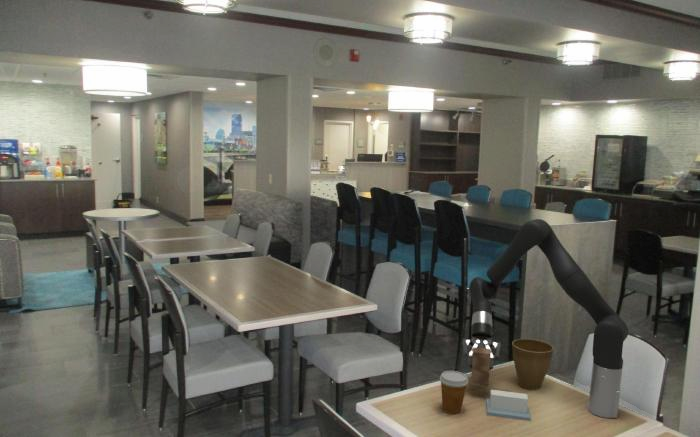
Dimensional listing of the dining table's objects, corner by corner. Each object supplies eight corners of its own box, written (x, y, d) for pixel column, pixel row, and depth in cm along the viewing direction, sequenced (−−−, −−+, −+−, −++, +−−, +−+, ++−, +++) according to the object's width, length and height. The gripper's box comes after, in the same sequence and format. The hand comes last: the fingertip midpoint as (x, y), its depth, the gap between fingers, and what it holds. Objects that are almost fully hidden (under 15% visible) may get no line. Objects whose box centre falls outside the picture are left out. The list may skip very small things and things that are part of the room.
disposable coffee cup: (467, 405, 192) (470, 373, 190) (464, 418, 183) (466, 383, 181) (440, 400, 195) (442, 368, 193) (435, 412, 186) (437, 378, 184)
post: (487, 379, 203) (489, 348, 201) (488, 386, 197) (490, 353, 195) (471, 377, 204) (473, 346, 202) (471, 384, 198) (473, 352, 196)
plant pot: (556, 386, 211) (560, 346, 209) (537, 397, 201) (541, 355, 199) (521, 373, 222) (524, 335, 219) (501, 383, 211) (504, 343, 209)
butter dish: (527, 407, 193) (528, 390, 192) (530, 420, 183) (532, 403, 182) (486, 401, 196) (487, 385, 195) (487, 414, 186) (488, 398, 185)
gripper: (462, 319, 206) (460, 362, 196) (502, 323, 203) (502, 366, 193) (462, 329, 212) (460, 370, 202) (500, 332, 209) (500, 374, 199)
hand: (480, 368), depth 198 cm, fingers closed on post, 6 cm apart
